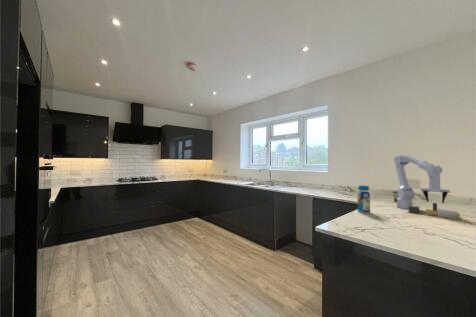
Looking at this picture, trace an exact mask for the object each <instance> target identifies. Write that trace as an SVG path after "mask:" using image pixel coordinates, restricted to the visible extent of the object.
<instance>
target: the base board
mask: <svg viewBox="0 0 476 317" xmlns="http://www.w3.org/2000/svg"><path fill="white" fill-rule="evenodd" d="M406 214H409V215H410V214H411V215H418V216H424V217H429V218H430V217H431V218H438V219H445V220H451V221H458V222H460V221H461V220H462V217H461V216H460V218H457V219H452V218H445V217H438V215H435V214H428V213H426V211H419V214H418V213H409V210H408V211H407V212H406Z"/></svg>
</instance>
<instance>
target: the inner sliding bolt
mask: <svg viewBox="0 0 476 317" xmlns="http://www.w3.org/2000/svg"><path fill="white" fill-rule="evenodd" d="M425 212H426V213H428V214H435V215H438V202H432V209H430V208H429V209H428V208H426V209H425ZM460 217H461V215H460V212H457V218H460Z"/></svg>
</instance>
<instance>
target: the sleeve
mask: <svg viewBox="0 0 476 317" xmlns="http://www.w3.org/2000/svg"><path fill="white" fill-rule="evenodd" d="M437 210H438V217H445V218H452V219H457V213H458V211H456V210H449V209H441V208H437Z"/></svg>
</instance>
